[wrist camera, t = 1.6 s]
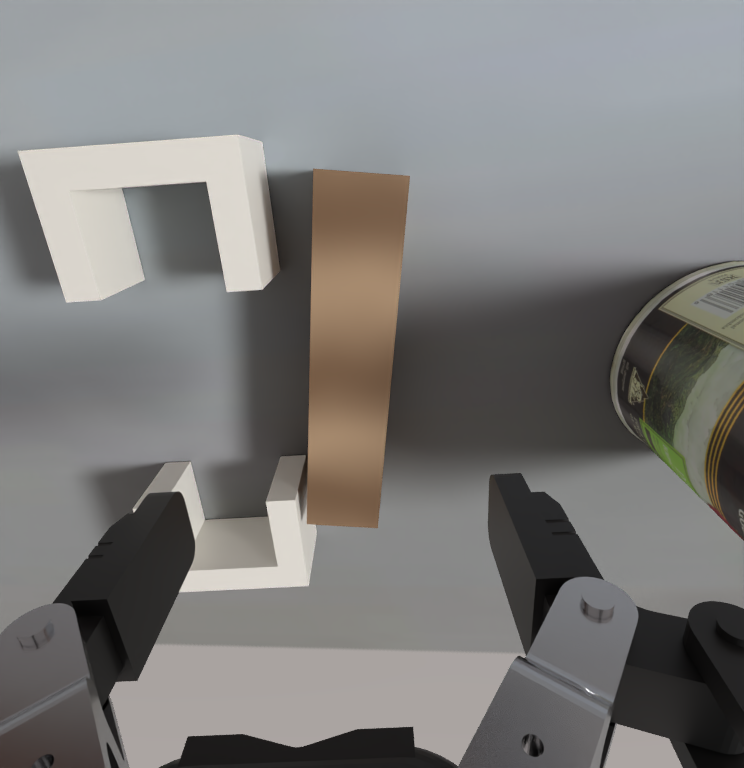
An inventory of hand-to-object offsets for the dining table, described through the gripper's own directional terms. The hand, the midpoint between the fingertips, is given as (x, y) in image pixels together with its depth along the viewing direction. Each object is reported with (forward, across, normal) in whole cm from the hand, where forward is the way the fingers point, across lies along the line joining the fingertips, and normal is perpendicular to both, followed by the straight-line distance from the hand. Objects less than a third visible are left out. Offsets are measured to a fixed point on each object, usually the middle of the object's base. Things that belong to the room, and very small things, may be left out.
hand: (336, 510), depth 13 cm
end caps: (+12, +7, +1) cm, 14 cm away
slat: (+13, 0, 0) cm, 13 cm away
